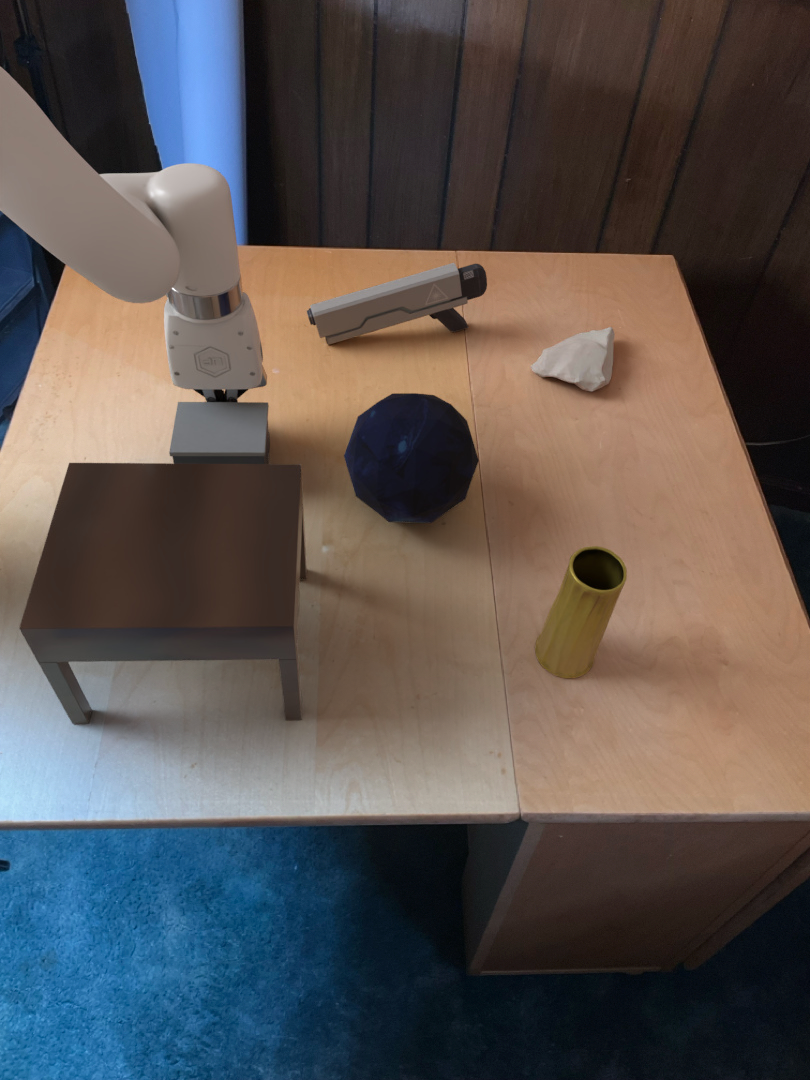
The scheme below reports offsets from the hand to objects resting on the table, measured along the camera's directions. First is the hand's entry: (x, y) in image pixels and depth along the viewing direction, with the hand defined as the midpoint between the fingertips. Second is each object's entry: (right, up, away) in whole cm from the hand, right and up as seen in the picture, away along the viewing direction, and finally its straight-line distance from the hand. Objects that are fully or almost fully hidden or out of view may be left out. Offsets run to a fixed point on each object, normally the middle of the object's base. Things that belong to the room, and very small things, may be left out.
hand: (227, 421), depth 99 cm
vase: (+38, -26, -16) cm, 49 cm away
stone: (+47, +10, +15) cm, 50 cm away
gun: (+20, +15, +16) cm, 30 cm away
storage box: (0, -6, -2) cm, 6 cm away
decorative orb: (+22, -10, -4) cm, 25 cm away
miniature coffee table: (+1, -25, -18) cm, 30 cm away
